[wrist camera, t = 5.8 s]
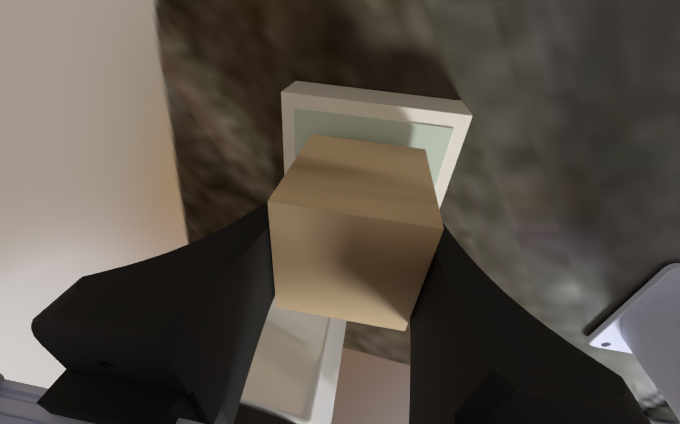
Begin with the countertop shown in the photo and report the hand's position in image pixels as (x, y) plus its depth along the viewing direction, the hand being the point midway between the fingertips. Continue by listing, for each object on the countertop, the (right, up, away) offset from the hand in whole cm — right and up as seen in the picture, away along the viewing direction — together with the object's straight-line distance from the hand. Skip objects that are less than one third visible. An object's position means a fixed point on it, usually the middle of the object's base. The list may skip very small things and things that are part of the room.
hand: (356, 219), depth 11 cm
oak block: (0, +1, +1) cm, 2 cm away
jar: (-4, -5, +11) cm, 13 cm away
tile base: (+1, +3, +4) cm, 5 cm away
